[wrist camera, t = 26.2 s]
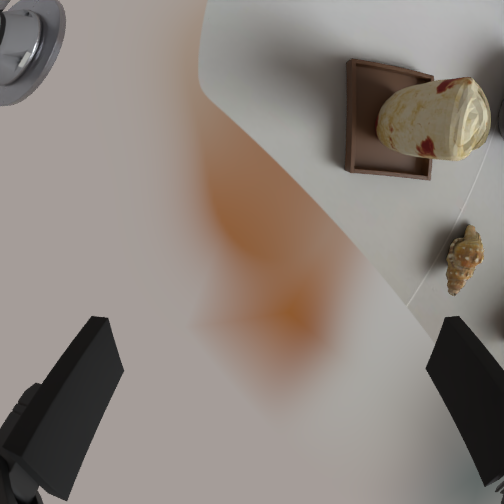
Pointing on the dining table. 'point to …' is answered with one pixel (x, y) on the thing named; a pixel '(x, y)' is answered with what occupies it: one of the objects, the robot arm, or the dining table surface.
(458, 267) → the seashell
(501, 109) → the bowl
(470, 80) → the food model
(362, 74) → the serving tray
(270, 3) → the dining table surface
